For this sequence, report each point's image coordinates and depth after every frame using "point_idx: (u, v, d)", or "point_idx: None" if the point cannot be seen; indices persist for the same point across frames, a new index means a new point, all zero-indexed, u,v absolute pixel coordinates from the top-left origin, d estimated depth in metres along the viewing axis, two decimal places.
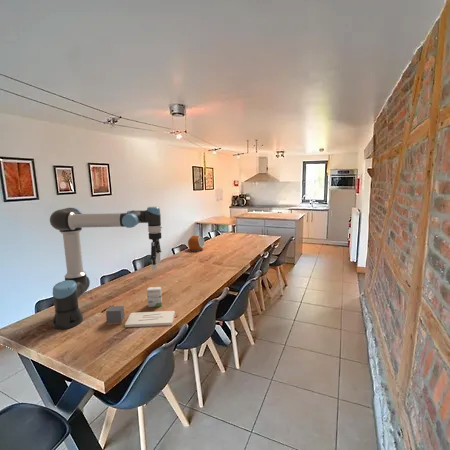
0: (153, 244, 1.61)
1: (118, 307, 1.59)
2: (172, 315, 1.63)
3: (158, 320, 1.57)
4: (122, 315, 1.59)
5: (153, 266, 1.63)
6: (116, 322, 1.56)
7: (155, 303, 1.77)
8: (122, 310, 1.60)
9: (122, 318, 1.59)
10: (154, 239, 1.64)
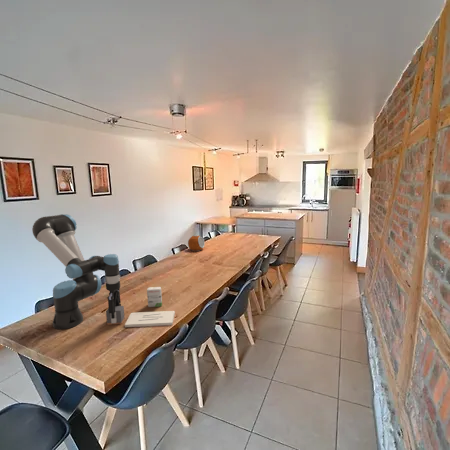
0: (110, 299, 1.50)
1: (118, 307, 1.59)
2: (172, 315, 1.63)
3: (158, 320, 1.57)
4: (122, 315, 1.59)
5: (112, 319, 1.55)
6: None
7: (155, 303, 1.77)
8: (122, 310, 1.60)
9: (122, 318, 1.59)
10: (111, 290, 1.52)
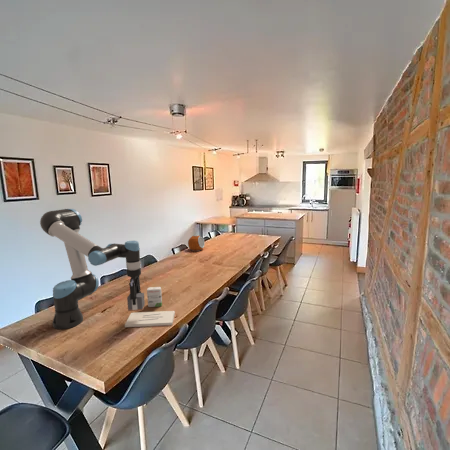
0: (131, 285, 1.50)
1: (139, 294, 1.59)
2: (172, 315, 1.63)
3: (158, 320, 1.57)
4: (143, 302, 1.58)
5: (133, 306, 1.55)
6: None
7: (155, 303, 1.77)
8: (143, 296, 1.59)
9: (143, 305, 1.58)
10: (132, 276, 1.52)
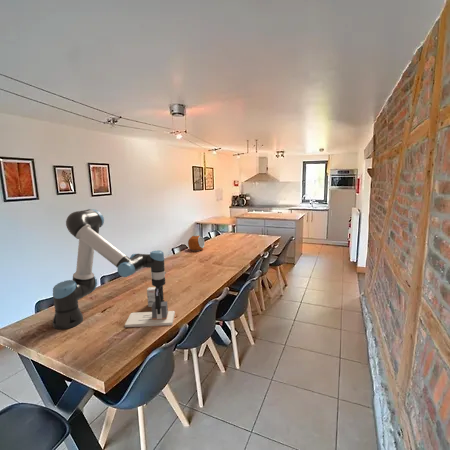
0: (157, 294, 1.52)
1: (162, 302, 1.61)
2: (172, 315, 1.63)
3: (158, 320, 1.57)
4: (166, 310, 1.60)
5: (158, 315, 1.57)
6: None
7: None
8: (166, 305, 1.61)
9: (166, 313, 1.60)
10: (158, 286, 1.54)
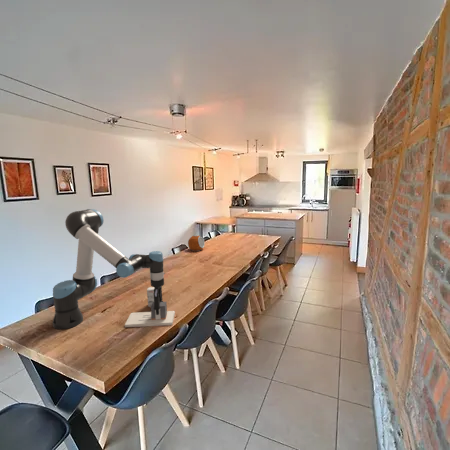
0: (156, 295, 1.52)
1: (161, 303, 1.61)
2: (172, 315, 1.63)
3: (158, 320, 1.57)
4: (165, 310, 1.60)
5: (156, 316, 1.57)
6: None
7: None
8: (166, 305, 1.61)
9: (165, 313, 1.60)
10: (156, 287, 1.54)
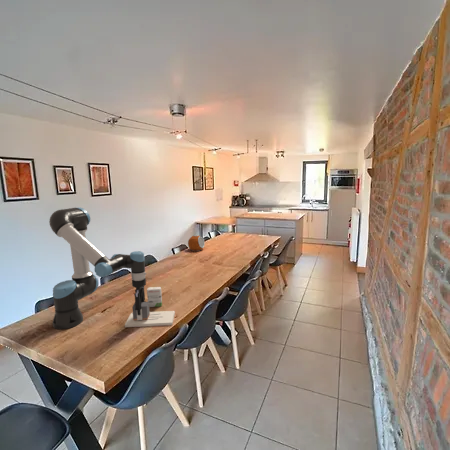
0: (136, 295, 1.51)
1: (144, 303, 1.60)
2: (172, 315, 1.63)
3: (158, 320, 1.57)
4: (148, 311, 1.59)
5: (138, 316, 1.56)
6: (142, 318, 1.57)
7: (155, 303, 1.77)
8: (148, 305, 1.60)
9: (148, 314, 1.59)
10: (138, 287, 1.53)
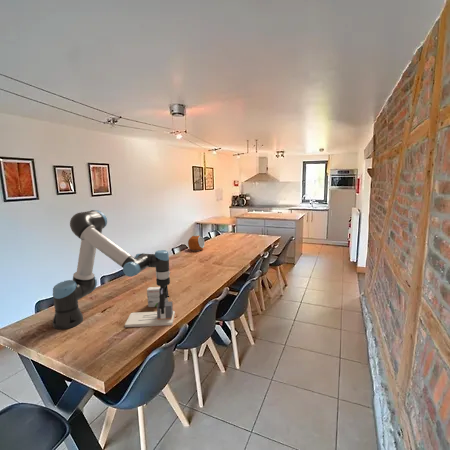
0: (161, 292, 1.52)
1: (167, 302, 1.61)
2: (172, 315, 1.63)
3: (158, 320, 1.57)
4: (171, 310, 1.60)
5: (161, 315, 1.54)
6: (166, 317, 1.58)
7: (155, 303, 1.77)
8: None
9: (171, 313, 1.60)
10: (162, 286, 1.54)
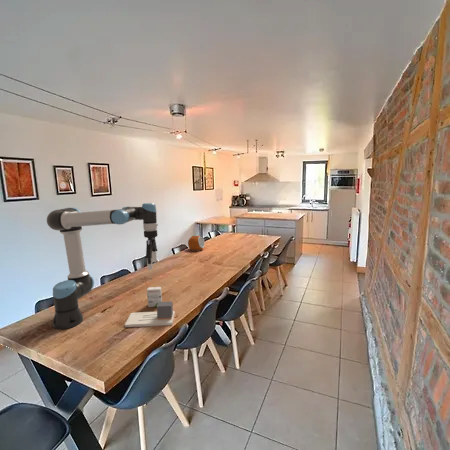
0: (148, 242, 1.54)
1: (167, 302, 1.61)
2: (172, 315, 1.63)
3: (158, 320, 1.57)
4: (171, 310, 1.60)
5: (148, 265, 1.55)
6: (166, 317, 1.58)
7: (155, 303, 1.77)
8: None
9: (171, 313, 1.60)
10: (149, 237, 1.56)
